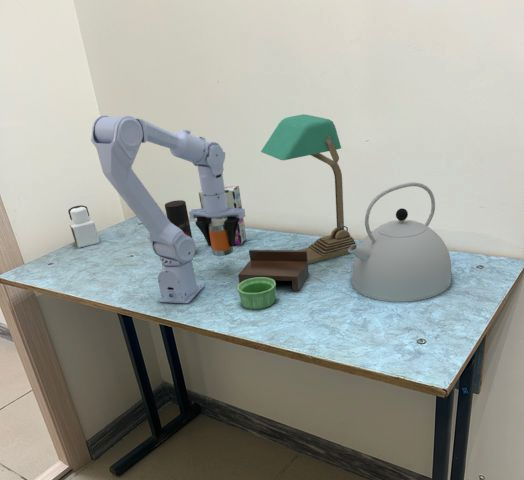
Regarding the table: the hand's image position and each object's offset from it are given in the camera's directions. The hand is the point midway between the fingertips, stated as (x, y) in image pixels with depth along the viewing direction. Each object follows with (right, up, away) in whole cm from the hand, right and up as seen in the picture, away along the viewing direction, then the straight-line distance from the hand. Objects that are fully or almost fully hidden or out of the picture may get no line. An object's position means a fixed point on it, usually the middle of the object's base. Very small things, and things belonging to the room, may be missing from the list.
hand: (221, 244), depth 141 cm
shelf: (+14, -10, -5) cm, 18 cm away
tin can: (0, -2, +1) cm, 2 cm away
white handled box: (-48, +8, +39) cm, 62 cm away
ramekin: (+10, -16, -14) cm, 24 cm away
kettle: (+42, -11, -13) cm, 46 cm away
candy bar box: (0, +5, +23) cm, 24 cm away
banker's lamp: (+25, -2, +6) cm, 26 cm away
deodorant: (-12, +1, +19) cm, 23 cm away
